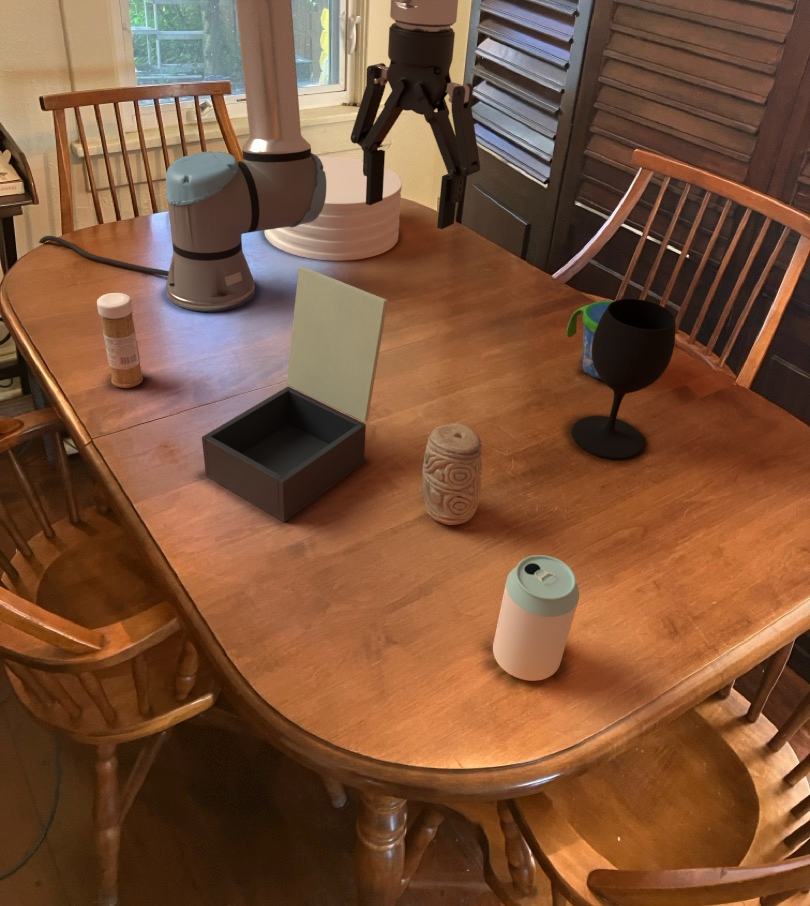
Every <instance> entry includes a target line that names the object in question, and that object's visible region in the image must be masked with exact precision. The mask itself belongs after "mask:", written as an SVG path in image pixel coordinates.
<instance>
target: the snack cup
mask: <svg viewBox="0 0 810 906" xmlns="http://www.w3.org/2000/svg"><path fill="white" fill-rule="evenodd" d="M614 301H615V300H600V301H595V302H592V303H589V304H585V305H584V306H582V307H579V308H577V309H576V310H575V311H574V312H573V313H572V314H571V316H570V319H569V320H568V323H567V327H566V335H567V337H568V338H572V337H574V336H575V335H576V334H577V328H578V326H577V325H578V316H579V315H581V313H582V323H583V333H582V334H583V335H582V351H581V354H582V355H581V365H582V366H581V367H582V369H583V372H584V373H585V374H587V375H588V376H590V377H592V378H594V379H599V380H600V381H602V382H603V380H602V379H601V378H600V377H599V375H598V373H597V371H596V369H595V367H594V364H593V360H592V342H593V337H594V334H595V331H596V328H597V326H598V323H599V321H600V319H601V317H602V315H603V314H604V312H605V310H606V309H607V307H608V306H609V304H610V303H612V302H614Z"/></svg>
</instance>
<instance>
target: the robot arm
mask: <svg viewBox="0 0 810 906" xmlns="http://www.w3.org/2000/svg"><path fill="white" fill-rule="evenodd" d="M458 3H459V0H390V9H389V17H390V19H391V20H393V21H394V22H393V23H392V24H391V25H390V26H389V28H388V44H387V45H388V46H387V48H388V49H387V57H388V59H389V60H390V63H389V65H388V66H386V64H385V63H384V62H380V63H376V64H372V65H368V66H367V68H366V76H365V77H366V79H365V88H364V91H363V95H362V98H361V101H360V105H359V108H358V111H357V114H356V117H355V120H354V124H353V128H352V130H351V134H350V141H351V143H352V144H354V145H355V144H357V145H358V146H359V147H360V148H361V150H362V152H363V154H362V160H363V174H364V176H367V183H366V204H367V205H372V204H375V203H377V202H380V201H382V200H383V181H384V167H385V160H386V150H384V149H380V148H382V147H384V145H383V142H384V141H385V139H386V138H387V136H388V134H389V133H390V131H391V130H392V128H393V127H394V125H395V124H396V122H397V120H398V119H399V117H400V115H401V114H402V112H403V111H405V112H406V111H412V112H414V113H415V114H418V115H421V116H423V118H424V119H425V122H426V123H427V124H429V126H430V129H431V131H432V135H433V137H434V140H435V142H436V145H437V147H438V150H439V153H440V156H441V159H442V161H443V164H444V167H445V169H446V172H447V173H445V174H444V175H441V183H440V193H439V204H438V212H437V213H438V215H437V225H436V229H439V230H444V229H447V228H448V227H450V226H452V225H454V224H455V217H456V215H455V214H456V208H457V207H456V206H457V203H459V202H461V200H462V198H463V192H464V183H465V177H468V176H471V175H474V174H475V173H478V172H480V170H481V161H480V156H479V148H478V143H477V134H476V129H475V128H476V127H475V121H474V115H473V108H472V100H473V94H474V87H473V84H472V83H468V82H467V83H464V84H461V83H457V82H453V81H452V79H451V75H450V69H451V66H452V63H453V59H454V58H453V57H454V48H455V47H454V46H455V37H456V36H455V35H456V32H455V31H454V29H453V28H452V27H451V26H453V25H454V24H456V23H457V17H458V5H459V4H458ZM235 4H236V14H237V15H236V16H237V25H238V35H239V44H240V45H239V46H240V55H241V64H242V73H243V83H244V91H245V92H244V94H245V102H246V103H245V104H246V115H247V122H248V123H247V124H248V132H249V134H248V135H249V137H248V139H247V140H246V142H245V143H244V144H243V145H242V146H241V153H242V160H240V161H238V160H237V159H236V157H235V156H234V155H232V154H231V153H229V152H228V153H227V152H224V151H213V152H212V151H201V152H196V153H192V154H188V155H185V156H182V157H180V158H178V159H177V160H175V161H174V162H173V163H171V165H169V166H168V168H167V170H166V172H165V200H166V202H167V208H168V209H167V210H168V218H169V227H170V232H171V233H170V235H171V236H170V237H171V242H172V257H171V261H170V265H169V270H165V269H159V268H152V267H147V266H143V265H137V264H134V263H129V262H125V261H121V260H117V259H112V258H109V257H103V256H100V255H96V254H92V253H91V252H88V251H86V250H84V249H82V248H81V247H79V246H78V245H77V244H75V243H73V242H70V241H67V240H65V239H63V238H60V237H57V236H56V235H55V236H54V235H45V236H43V237H41V238H40V240H39V241H38V244H46V243H47V242H54V243H57V244H60V245H62V246H64V247H67V248H69V249H71V250H74V252H76V253H77V254H79V255H80V256H82V257H84V258H86V259H89V260H92V261H96V262H99V263H103V264H108V265H112V266H117V267H120V268H124V269H129V270H133V271H137V272H143V273H146V274H153V275H159V276H164V277H167V278H166V283H165V284H166V285H165V286H166V295H167V298H168V299H169V300H170V301H171V303H173V304H174V305H176V306H178V307H180V308H183V309H187V310H191V311H196V312H210V313H211V312H221V311H223V312H224V311H228V310H233V309H236V308H239V307H241V306H244V305H245V304H247V303H248V302H250V301H251V300H252V299H253V298H254V296H255V293H256V289H255V279H254V276H253V274H252V272H251V269H250V267H249V265H248V262H247V258H246V256H245V254H244V252H243V242H242V235H244V234H248V233H256V232H261V231H264V230H270V229H276V228H283V227H296V226H298V225H301V224H306V223H310V222H312V221H314V220H315V219H316V218H317V217H318V216H319V214H320V213H321V211H322V209H323V207H324V203H325V198H326V175H325V172H324V171H323V164H322V162H321V160H320V159H319V157H320V156H318V155H317V154H315V153H313V152H312V146H311V143H309V141H307V140H306V139H305V138H304V137H303V135H302V131H301V130H302V129H301V117H300V115H301V114H300V101H299V89H298V87H299V86H298V74H297V73H298V72H297V63H296V61H297V60H296V48H295V34H294V19H293V18H294V17H293V5H292V0H235ZM387 84H389V86H390V89H391V92H390V93H389V95H388V97H387V98H386V100H385V102H384V103H383V108H382V110H381V111H380V113H379V114H378V112H379V109H380V105H381V102H382V99H383V96H384V94H385V90H386V86H387ZM447 96H449V97H448V102H449V103H450V104H451V117H452V122H453V123H452V122H451V120H450V109H449V107H448V104H447V101H446V97H447ZM377 114H378V116H377ZM452 124H453V125H452Z"/></svg>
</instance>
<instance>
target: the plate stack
mask: <svg viewBox="0 0 810 906" xmlns="http://www.w3.org/2000/svg"><path fill="white" fill-rule="evenodd" d="M318 157H319V159H320V160H321V162H322V164H323V171H324V172H325V175H326V198H325V203H324V207H323V209H322V211H321V213H320V214H319V216H318V217H317V218H316V219H315V220H314V221H312V222H310V223H306V224H301V225H298V226H296V227H283V228H276V229H270V230H263V231H264V236H265V239H266V240H267V241H268V242H269V244H271V245H272V246H274V247H275V248H277V249H278V250H281V251H282V252H286V253H287V254H291V255H294V256H297V257H302V258H306V259H312V260H319V261H333V262H335V261H338V262H339V261H341V262H342V261H354V260H362V259H368V258H372V257H375V256H379V255H381V254H384V253H386V252H387V251H390V250H391V249H392V248H394V246H395V245H397V243H398V241H399V234H400V232H399V231H400V230H399V228H400V215H401V203H402V202H401V201H402V194H401V192H402V185H403V182H402V179H401V177H400V176H399V175H398V174H397V173H396V172H394V171H393V170H391V169H389V168H388V167H385V166H384V181H383V200H382V201H380V202H377V203H375V204H372V205H367V204H366V183H367V176H364V174H363V159H358V158H357V159H356V158H350V157H344V156H343V157H342V156H318Z"/></svg>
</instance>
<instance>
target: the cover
mask: <svg viewBox="0 0 810 906" xmlns="http://www.w3.org/2000/svg"><path fill="white" fill-rule="evenodd" d="M297 273H298V274H297V282H296V292H295V299H294V300H295V301H294V309H293V311H294V312H293V320H292V330H291V338H290V339H291V340H290V348H289V356H288V365H287V376H286V385H287V386H289V387H291V388H292V389H295V390H297V391H299V392H301V393H303V394H305V395H307V396H309V397H311V398H313V399H315V400H317V401H319V402H321V403H323V404H325V405H327V406H329V407H331V408H333V409H335V410H338V411H340V412H342V413H344V414H346V415H348V416H350V417H352V418H354V419H356V420H358V421H360V422H362V423H367V422H368V421H369V416H370V409H371V403H372V398H373V391H374V385H375V380H376V374H377V367H378V361H379V356H380V355H379V353H380V351H381V350H380V349H381V344H382V337H383V331H384V325H385V320H386V319H385V318H386V314H387V313H386V312H387V308H388V299H386V298H383V297H380V296H377V295H375V294H373V293H370V292H368V291H365V290H363V289H361V288H359V287H355V286H353V285H350V284H348V283H345V282H343V281H340V280H338V279H335V278H333V277H331V276H328V275H326V274H323V273H320V272H318V271H315V270H313V269H310V268H308V267H305V266H303V265H301V266H299V267H298V272H297Z"/></svg>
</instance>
